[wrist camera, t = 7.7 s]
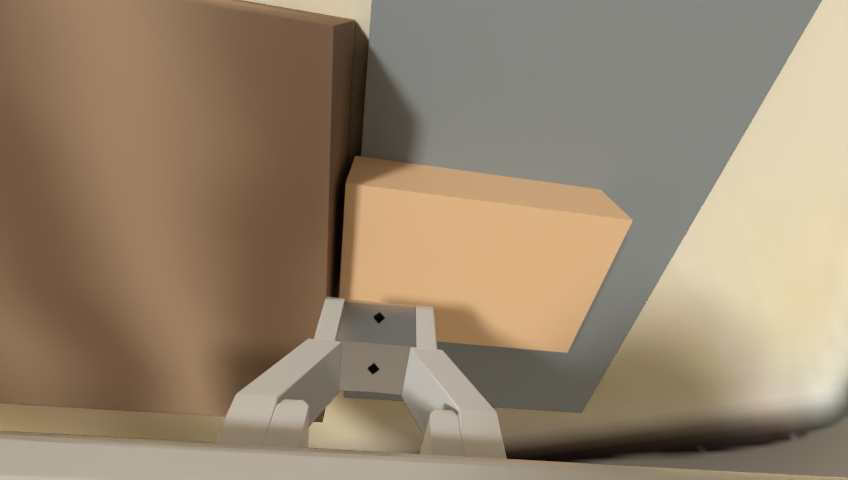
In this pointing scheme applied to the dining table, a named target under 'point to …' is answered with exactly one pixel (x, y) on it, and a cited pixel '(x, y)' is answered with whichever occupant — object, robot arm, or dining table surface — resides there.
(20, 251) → the deck
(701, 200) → the mat
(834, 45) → the dining table surface
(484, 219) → the tile
